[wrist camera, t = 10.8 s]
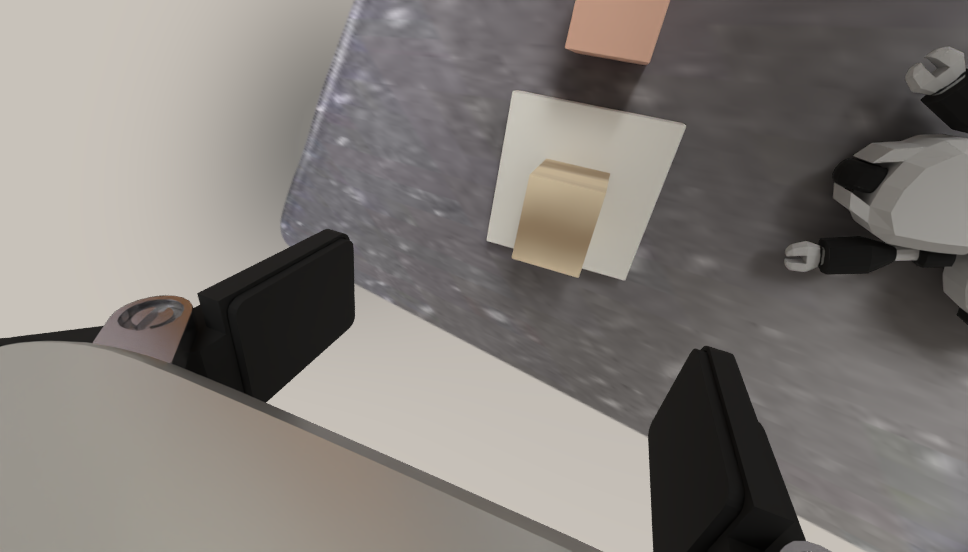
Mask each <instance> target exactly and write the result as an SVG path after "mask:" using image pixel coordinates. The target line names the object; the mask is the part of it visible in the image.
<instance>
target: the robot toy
mask: <svg viewBox="0 0 968 552" xmlns="http://www.w3.org/2000/svg"><path fill="white" fill-rule="evenodd" d="M924 58H926V59H928V60H929V61H931V62H932V63H933V64H934V65H935V66H936V67H937V69H936V70H935V71H933V72H932V73H930V72H929V71H928V70H927V69H926V68H925V67H924V66H923V64H922V63H916V64H914V65H913V66H912V67H910V68H909V70H908V72H907V74H906V76H905V80H906V82H907V84H908V86H909V88H910V90H911V92H916V93H921V94H926V95H925V96H924V97H923V98H922V99H921V101H922V102H923V103H924V104H925V105H926V106H927V107H928V108H929V109H930V110H931V111H933V112H934V113H935V114H936V115H937V116H938V117H939V118H940V119H941V120H942V121H943V122H944V123H946V124H947V125H948V126H949V127H950V128H951V129H953V130H957V131H961V132H966V133H968V69H965V59H964V53H962V52H960V51H958V50H956V49H954V48H951V47H949V46H948V47H943V48H939V49H936V50H933V51H931V52H930V53H929V54H927V55H926V56H925V57H924ZM853 156H855V157H858V158H860V159H863V160H866V161H868V162H865V161H861V160H857V159H847V160H844V161H843V162H841V163H840V164H839V165H838V166H837V167H836V168H835V170H834V172H833V176H832V178H833V181H834V182H835V183H834V191H833V198H834V199H835V200H836V201H838V202H839V203H840V204H842V205H843V206H844V207H845V208H847V209H848V210H849V211H850V213H851V215H852V217H853V220H854V221H856V222H857V223H858V224H860V225H861V226H863V227H864V228H866V229H867V230H868V231H870V232H871V233H873V234H874V235H875V236H877V237H878V238H880V239H881V240H883V241H884V242H885V243H887V244H885V243H882V242H879V241H875V240H872V239H869V238H865V237H860V236H857V237H838V238H820V240H819V244H818V245H817V244H814V243H811V242H808V241H804V242H799V243H795V244H791V245H789V246H788V247H787V248H786V249H785V254H786V256H802V258H791V259H786V258H784V264H785V266H786V267H787V268H788V269H789V270H792V271H799V272H806V271H808V270H811V269H814V268H816V267H819V269H820V271H821V272H822V273H824V274H863V273H869V272H872V271H874V270H877V269H879V268H881V267H884V266H886V265H888V264H890V263H892V262H894V261H908V260H912V261H913V262H914V263H915V264H916V265H917V266H920V267H945V268H944V271H943V291H944V292H945V293H946V294H947V295H948V296H949V297H950V298H951V299H952V300H953V301H954V302H955V303H956V304H957V305H958V306H959V307H960V308H959V310H958V313H957V316H959V317H960V318H961V319H962V320H963V321H964V322H965V323H966V324H967V325H968V138H963V137H957V136H951V135H945V134H929V135H916V136H914V137H911V138H908V139H905V140H902V141H893V142H879V143H871V144H869V145H868V146H866V147H865V148H863V149H862V150H860V151H859V152H857V153H856V154H854V155H853ZM869 162H871V163H869ZM836 183H837V184H836ZM838 184H839V185H841V186H844V187H847V188H850V189H853V190H854V191H853V193H852V192H850V191H848V190H846V189H845V188H843V187H841V186H839V185H838ZM888 244H892V245H897V246H891V245H888Z"/></svg>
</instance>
